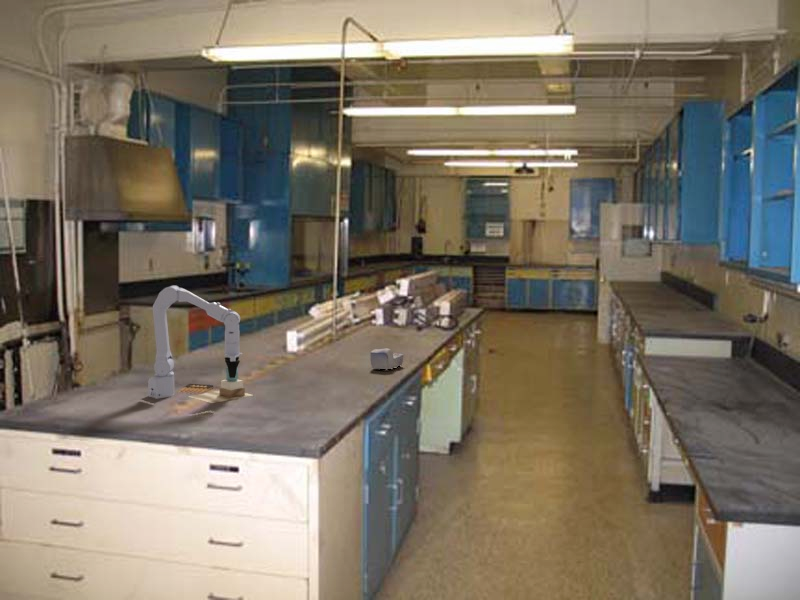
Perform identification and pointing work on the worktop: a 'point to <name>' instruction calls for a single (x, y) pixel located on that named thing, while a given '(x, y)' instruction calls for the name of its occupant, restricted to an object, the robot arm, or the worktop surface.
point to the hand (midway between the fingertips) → (232, 376)
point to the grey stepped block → (385, 359)
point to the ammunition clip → (196, 388)
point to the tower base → (232, 392)
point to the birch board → (214, 397)
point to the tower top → (231, 384)
